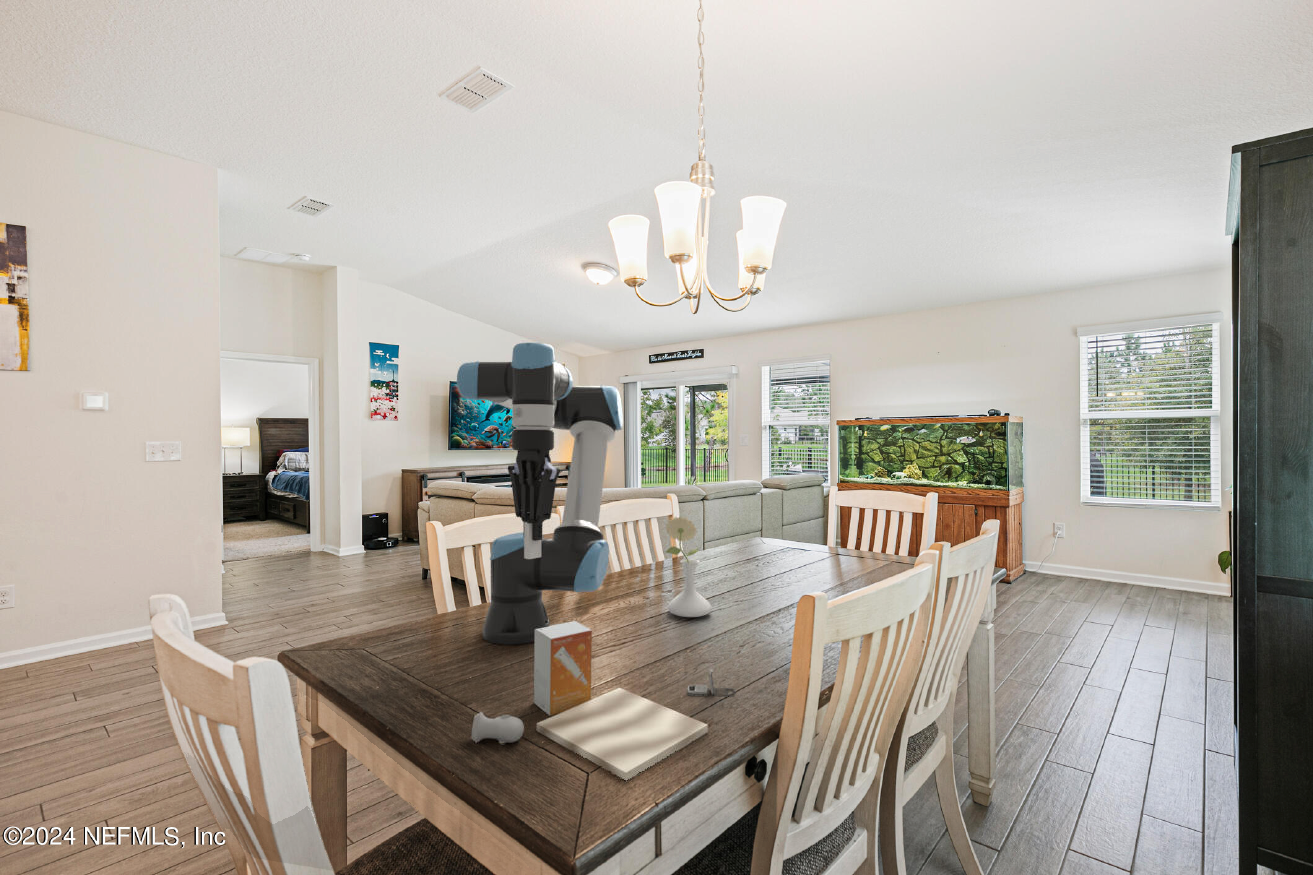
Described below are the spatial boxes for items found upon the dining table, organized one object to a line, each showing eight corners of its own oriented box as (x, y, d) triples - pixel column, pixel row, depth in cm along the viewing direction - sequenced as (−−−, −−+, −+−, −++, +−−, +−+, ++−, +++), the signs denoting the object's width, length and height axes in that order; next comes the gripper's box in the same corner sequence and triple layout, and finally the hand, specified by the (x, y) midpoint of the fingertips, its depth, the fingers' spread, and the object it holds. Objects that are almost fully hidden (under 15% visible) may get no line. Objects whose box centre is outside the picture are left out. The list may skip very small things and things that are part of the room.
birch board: (536, 730, 94) (536, 723, 94) (619, 694, 108) (619, 687, 108) (626, 781, 81) (626, 772, 81) (707, 732, 94) (707, 724, 94)
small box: (549, 717, 99) (550, 638, 99) (533, 703, 104) (533, 628, 104) (592, 704, 104) (592, 629, 104) (574, 691, 109) (574, 619, 109)
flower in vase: (719, 612, 157) (719, 516, 156) (698, 624, 147) (698, 522, 147) (676, 604, 164) (676, 512, 163) (653, 615, 154) (654, 518, 154)
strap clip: (687, 697, 107) (687, 673, 107) (687, 689, 110) (687, 666, 110) (735, 698, 107) (735, 674, 107) (733, 690, 110) (734, 667, 110)
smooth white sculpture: (527, 742, 93) (516, 749, 88) (478, 737, 94) (464, 744, 90) (530, 712, 95) (520, 717, 90) (482, 708, 96) (469, 712, 91)
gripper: (495, 428, 111) (495, 555, 111) (537, 428, 102) (537, 566, 103) (529, 428, 117) (528, 549, 117) (572, 428, 108) (571, 559, 108)
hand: (532, 557), depth 110 cm, fingers closed
